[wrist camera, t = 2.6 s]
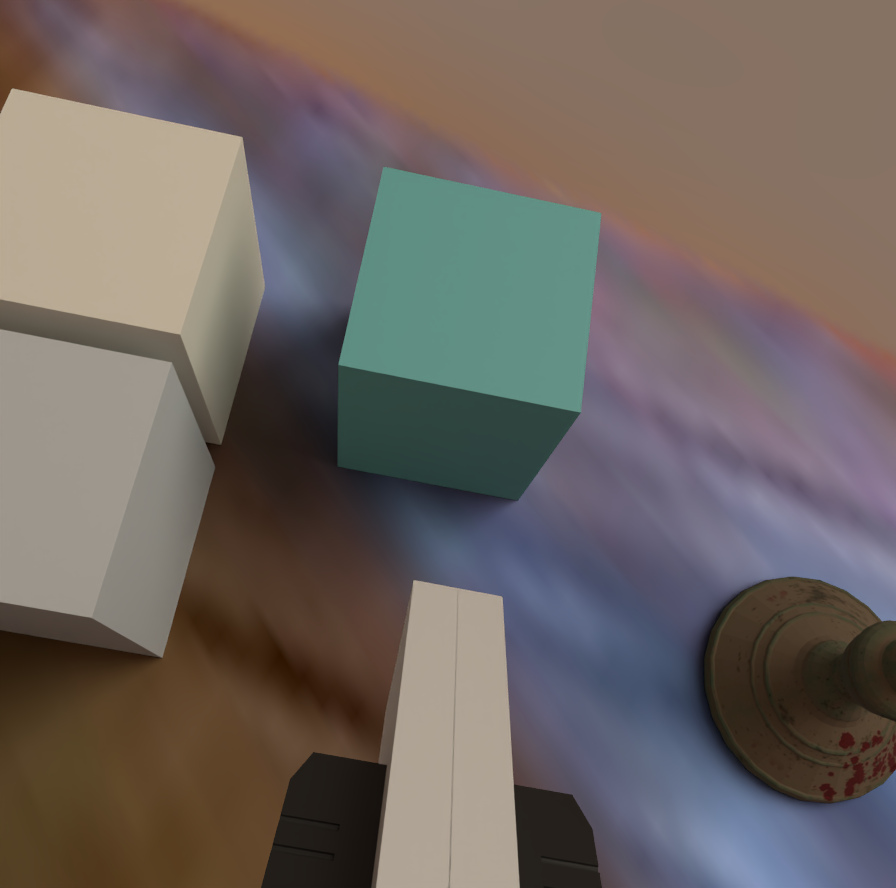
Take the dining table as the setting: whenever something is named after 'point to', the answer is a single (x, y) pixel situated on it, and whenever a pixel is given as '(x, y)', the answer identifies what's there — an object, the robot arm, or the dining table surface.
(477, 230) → the teal block
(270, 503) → the dining table surface
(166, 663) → the dining table surface
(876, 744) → the candlestick holder
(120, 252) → the cream block
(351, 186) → the dining table surface
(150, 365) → the grey block
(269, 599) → the dining table surface
